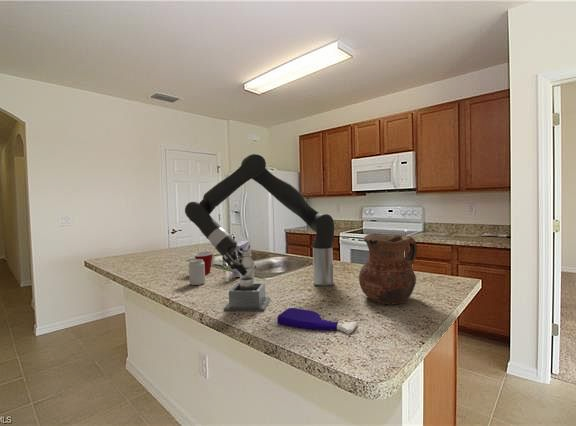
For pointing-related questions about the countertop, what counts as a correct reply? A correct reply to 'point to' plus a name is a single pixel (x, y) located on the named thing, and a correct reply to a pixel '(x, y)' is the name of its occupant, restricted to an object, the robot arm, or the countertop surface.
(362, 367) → the countertop surface
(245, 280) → the plastic bottle
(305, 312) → the spray bottle
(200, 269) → the can
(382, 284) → the jug
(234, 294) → the rack socket
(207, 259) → the plastic cup
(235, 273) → the cake pan box
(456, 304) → the countertop surface
